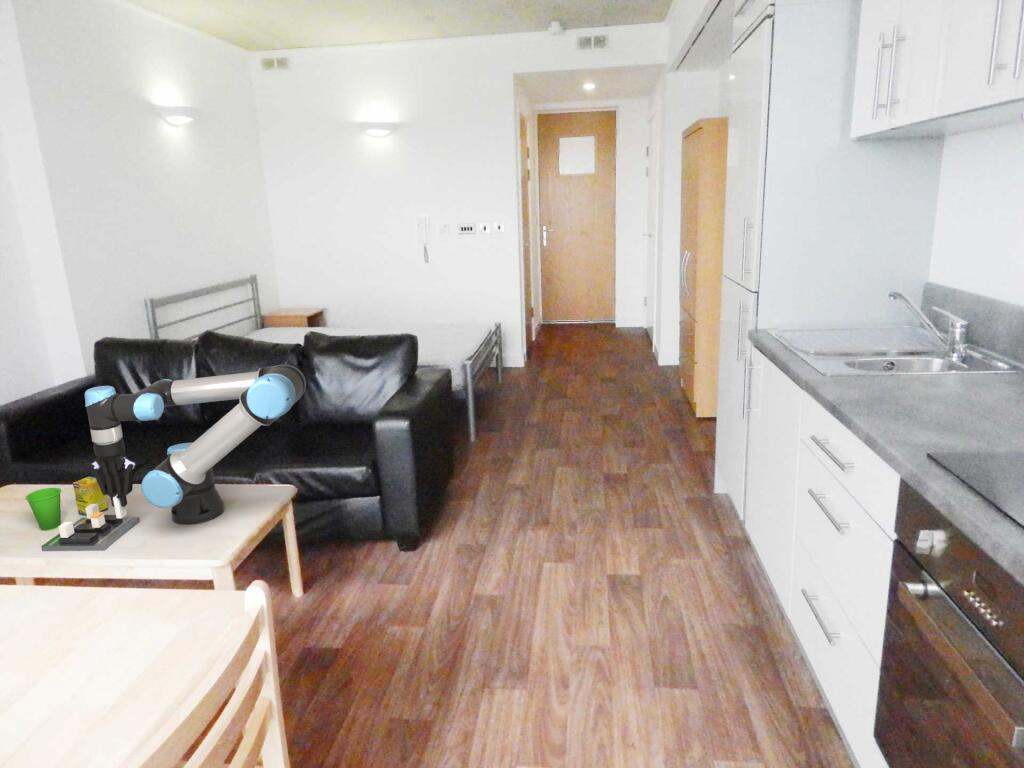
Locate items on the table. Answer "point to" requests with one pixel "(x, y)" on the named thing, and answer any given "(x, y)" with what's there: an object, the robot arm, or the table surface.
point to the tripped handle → (97, 519)
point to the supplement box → (89, 495)
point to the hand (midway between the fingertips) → (121, 516)
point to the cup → (46, 507)
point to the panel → (92, 546)
